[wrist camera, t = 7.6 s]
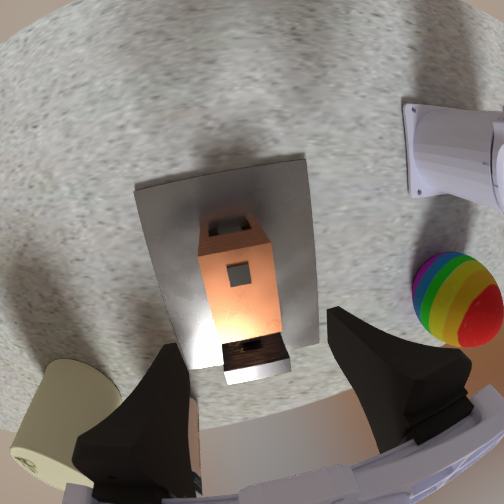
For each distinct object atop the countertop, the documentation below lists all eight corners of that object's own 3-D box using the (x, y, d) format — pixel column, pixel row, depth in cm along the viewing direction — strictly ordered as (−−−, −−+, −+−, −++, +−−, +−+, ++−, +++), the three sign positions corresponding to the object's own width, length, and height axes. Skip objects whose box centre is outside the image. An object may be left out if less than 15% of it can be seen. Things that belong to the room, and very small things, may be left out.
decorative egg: (417, 326, 28) (470, 383, 18) (388, 285, 25) (455, 348, 15) (464, 275, 26) (524, 318, 17) (443, 225, 23) (520, 265, 14)
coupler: (304, 159, 20) (325, 163, 16) (318, 340, 26) (333, 368, 22) (134, 190, 19) (118, 201, 15) (189, 366, 25) (188, 398, 21)
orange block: (256, 219, 20) (271, 243, 16) (267, 293, 23) (283, 332, 18) (199, 230, 20) (197, 257, 15) (217, 303, 22) (220, 345, 17)
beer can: (178, 382, 25) (174, 493, 14) (207, 407, 27) (215, 508, 16) (143, 398, 26) (130, 499, 15) (173, 420, 27) (171, 515, 16)
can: (39, 347, 22) (-8, 435, 11) (121, 372, 24) (96, 478, 13) (53, 402, 25) (25, 480, 14) (123, 423, 27) (110, 509, 16)
